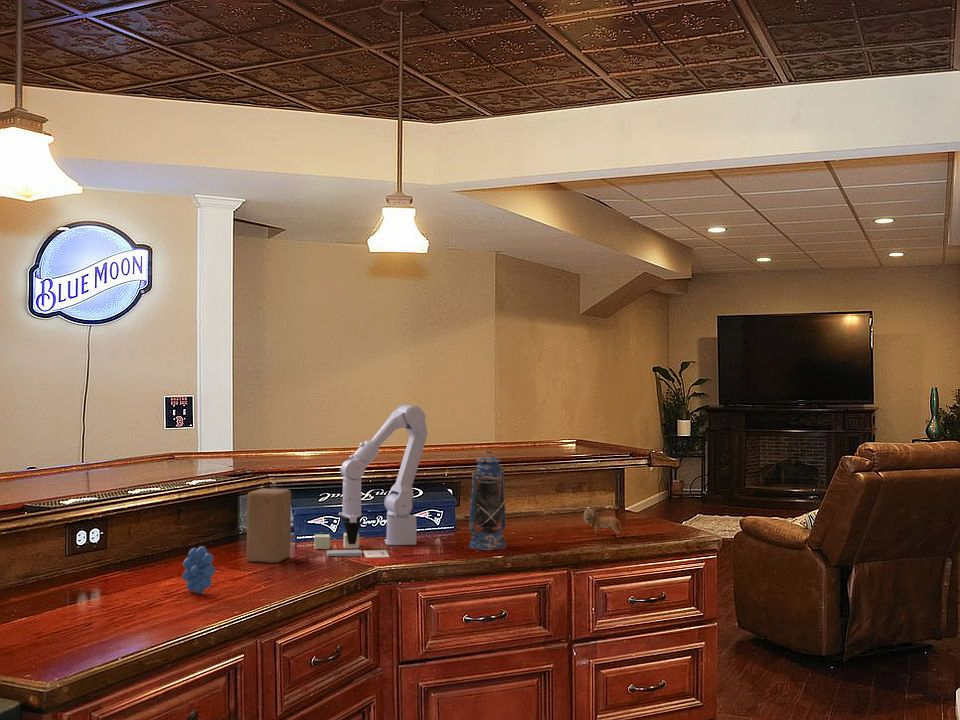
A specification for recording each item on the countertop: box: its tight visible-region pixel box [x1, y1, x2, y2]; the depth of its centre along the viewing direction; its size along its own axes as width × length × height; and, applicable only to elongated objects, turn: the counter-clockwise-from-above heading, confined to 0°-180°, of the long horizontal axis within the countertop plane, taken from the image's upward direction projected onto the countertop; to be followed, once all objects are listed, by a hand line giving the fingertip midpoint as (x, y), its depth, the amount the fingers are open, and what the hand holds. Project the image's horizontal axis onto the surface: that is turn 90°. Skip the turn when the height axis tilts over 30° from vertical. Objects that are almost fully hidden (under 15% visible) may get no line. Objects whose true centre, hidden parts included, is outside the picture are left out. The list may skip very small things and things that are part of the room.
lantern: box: [468, 451, 507, 550], centre depth 312 cm, size 15×12×30 cm
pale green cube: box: [314, 533, 331, 550], centre depth 307 cm, size 4×4×4 cm
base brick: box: [326, 549, 363, 558], centre depth 297 cm, size 10×5×2 cm, turn 102°
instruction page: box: [362, 549, 391, 559], centre depth 299 cm, size 7×10×1 cm
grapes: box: [182, 545, 216, 595], centre depth 248 cm, size 12×7×12 cm, turn 52°
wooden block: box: [246, 488, 292, 564], centre depth 289 cm, size 10×10×20 cm
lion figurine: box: [583, 508, 624, 535], centre depth 334 cm, size 15×5×9 cm, turn 70°
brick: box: [343, 532, 360, 549], centre depth 310 cm, size 4×4×4 cm
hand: (351, 542), depth 310 cm, fingers closed on brick, 4 cm apart
